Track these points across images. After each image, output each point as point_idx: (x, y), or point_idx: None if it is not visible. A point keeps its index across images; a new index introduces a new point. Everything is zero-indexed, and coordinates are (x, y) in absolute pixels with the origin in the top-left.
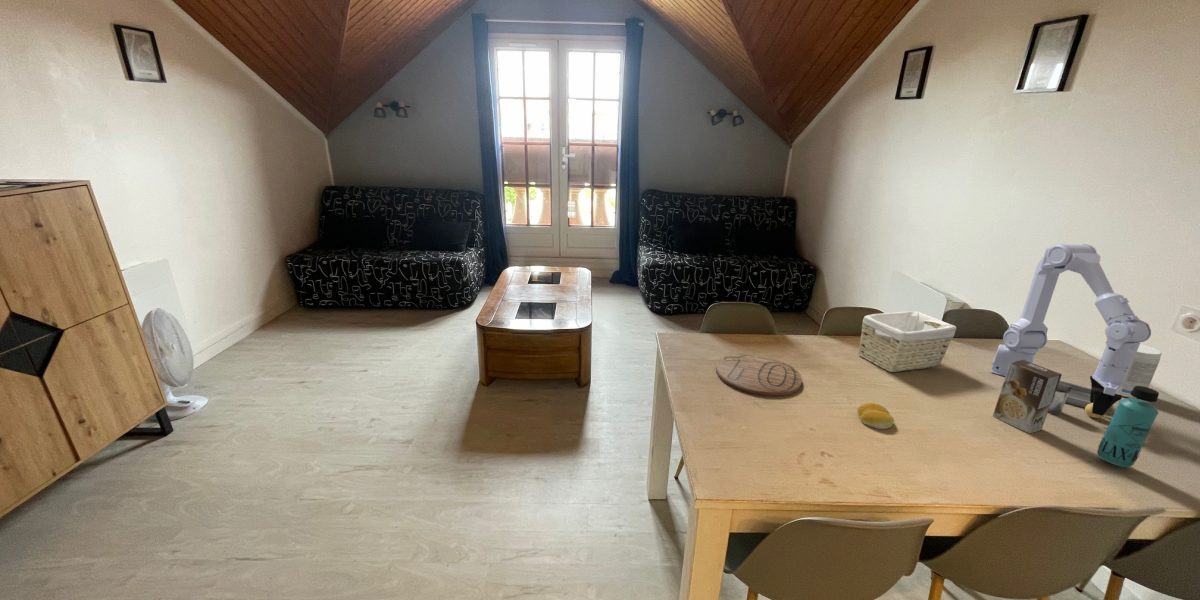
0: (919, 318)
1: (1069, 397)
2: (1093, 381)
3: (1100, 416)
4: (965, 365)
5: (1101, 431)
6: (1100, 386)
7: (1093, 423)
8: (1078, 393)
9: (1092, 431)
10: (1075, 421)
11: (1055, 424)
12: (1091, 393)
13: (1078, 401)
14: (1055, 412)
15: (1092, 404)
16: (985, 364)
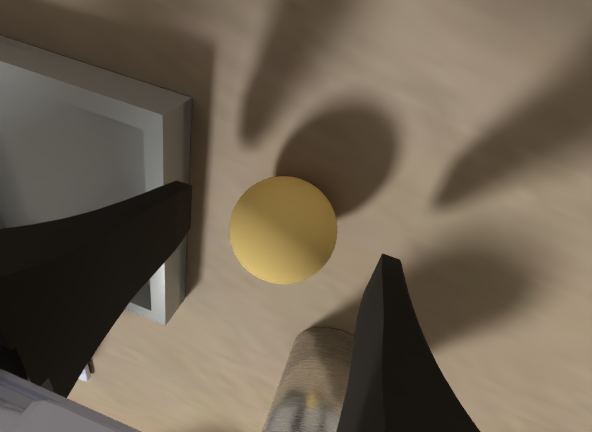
0: None
1: (166, 274)
2: (69, 379)
3: (331, 207)
4: (94, 409)
5: (514, 246)
6: (85, 317)
7: (400, 238)
8: (16, 156)
9: (533, 295)
10: (417, 314)
11: (500, 408)
12: (147, 280)
13: None
14: None
15: (276, 282)
16: None
